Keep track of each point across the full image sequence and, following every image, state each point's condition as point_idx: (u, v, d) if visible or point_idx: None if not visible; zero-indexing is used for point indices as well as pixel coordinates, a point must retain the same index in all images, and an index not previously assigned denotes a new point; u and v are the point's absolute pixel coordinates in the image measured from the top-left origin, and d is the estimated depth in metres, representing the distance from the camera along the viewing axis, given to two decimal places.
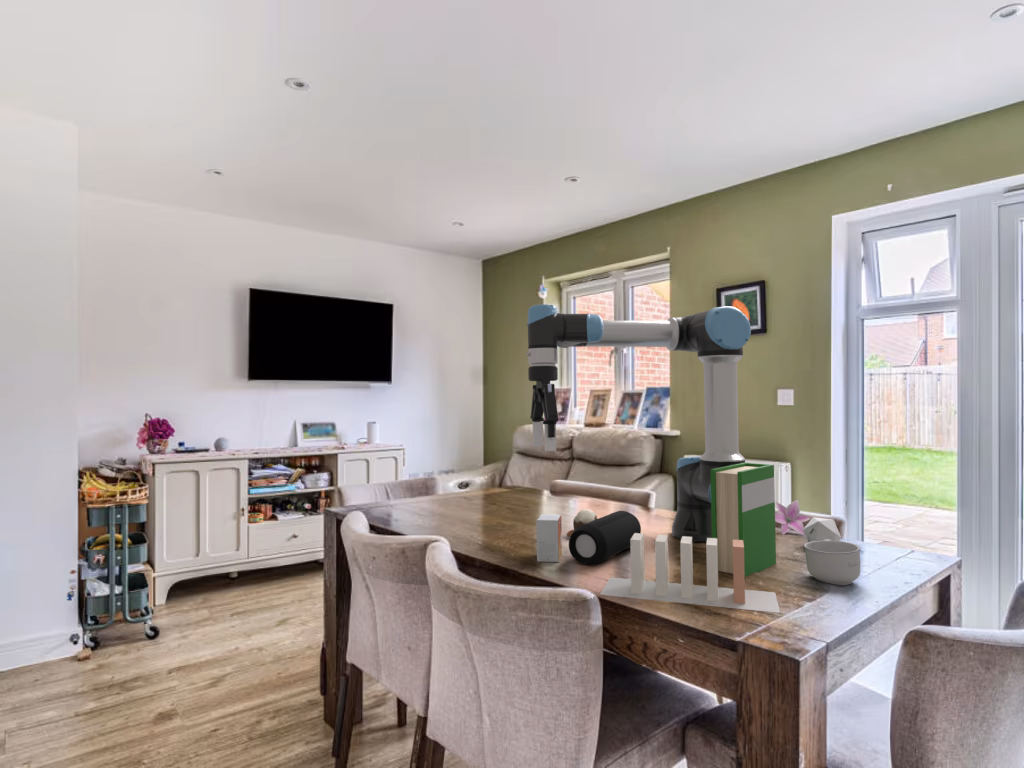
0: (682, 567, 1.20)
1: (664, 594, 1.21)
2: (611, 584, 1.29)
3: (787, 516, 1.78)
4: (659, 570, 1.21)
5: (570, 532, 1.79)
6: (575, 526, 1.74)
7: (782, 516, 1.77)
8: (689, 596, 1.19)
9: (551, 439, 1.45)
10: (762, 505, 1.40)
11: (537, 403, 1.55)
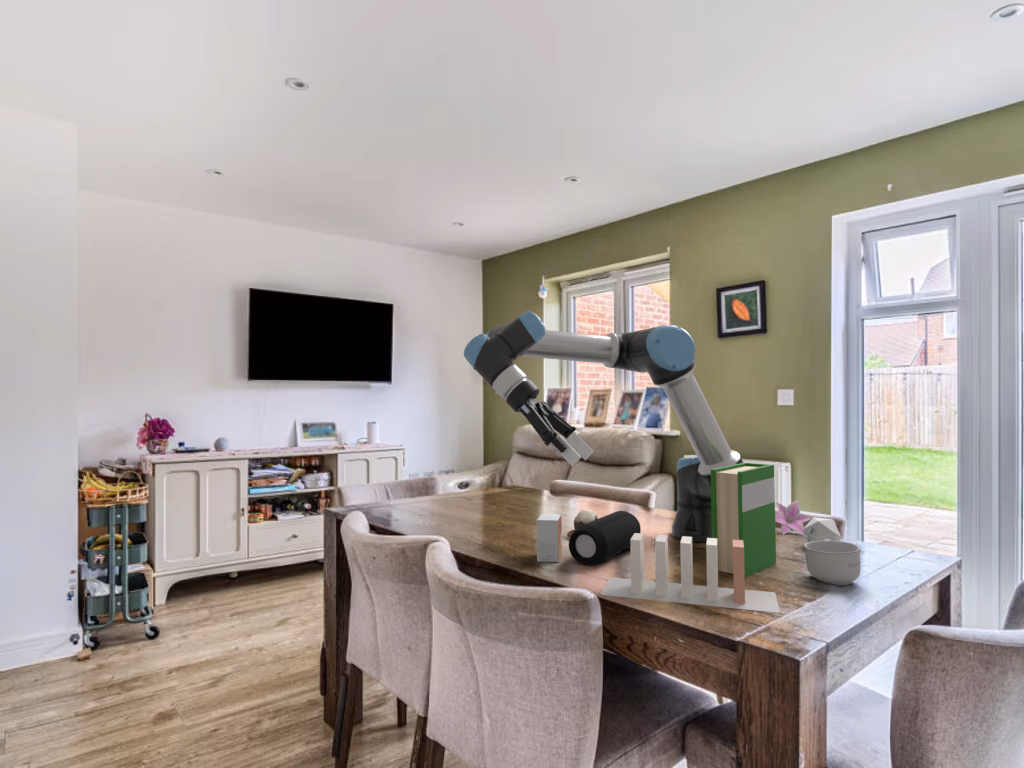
0: (682, 567, 1.20)
1: (664, 594, 1.21)
2: (611, 584, 1.29)
3: (787, 516, 1.78)
4: (659, 570, 1.21)
5: (571, 532, 1.79)
6: (576, 526, 1.74)
7: (782, 516, 1.77)
8: (689, 596, 1.19)
9: (567, 451, 1.25)
10: (762, 505, 1.40)
11: None
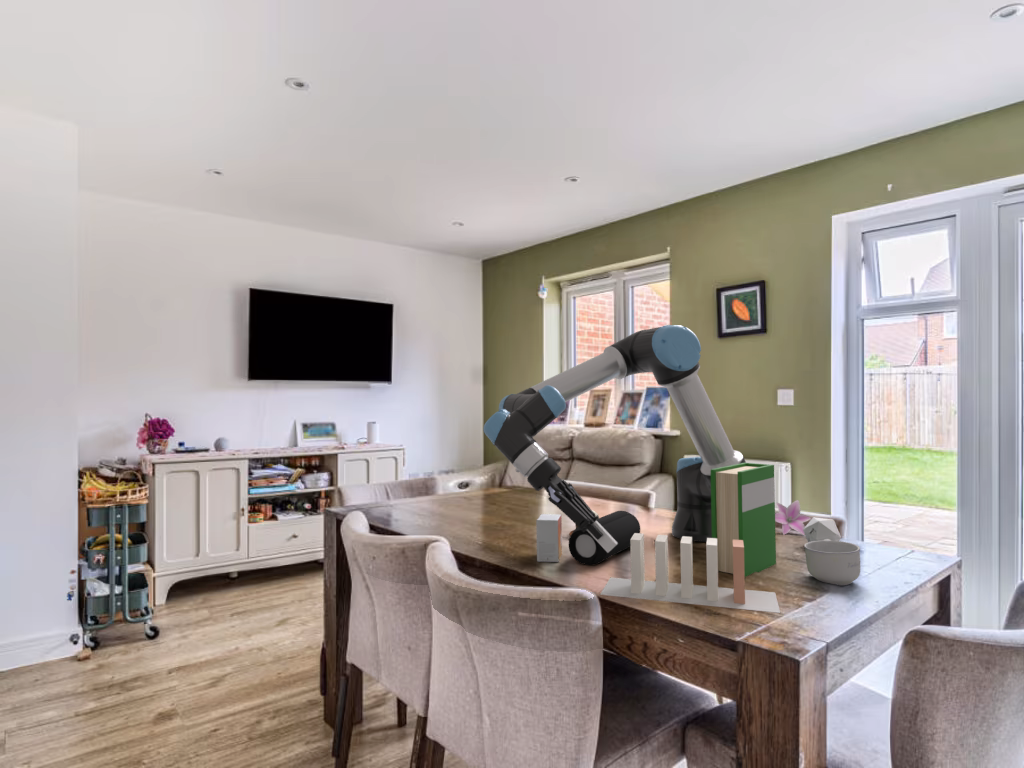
0: (682, 567, 1.20)
1: (664, 594, 1.21)
2: (611, 584, 1.29)
3: (787, 516, 1.78)
4: (659, 570, 1.21)
5: (572, 532, 1.79)
6: (577, 526, 1.74)
7: (783, 516, 1.77)
8: (689, 596, 1.19)
9: (603, 538, 1.27)
10: (762, 505, 1.40)
11: None
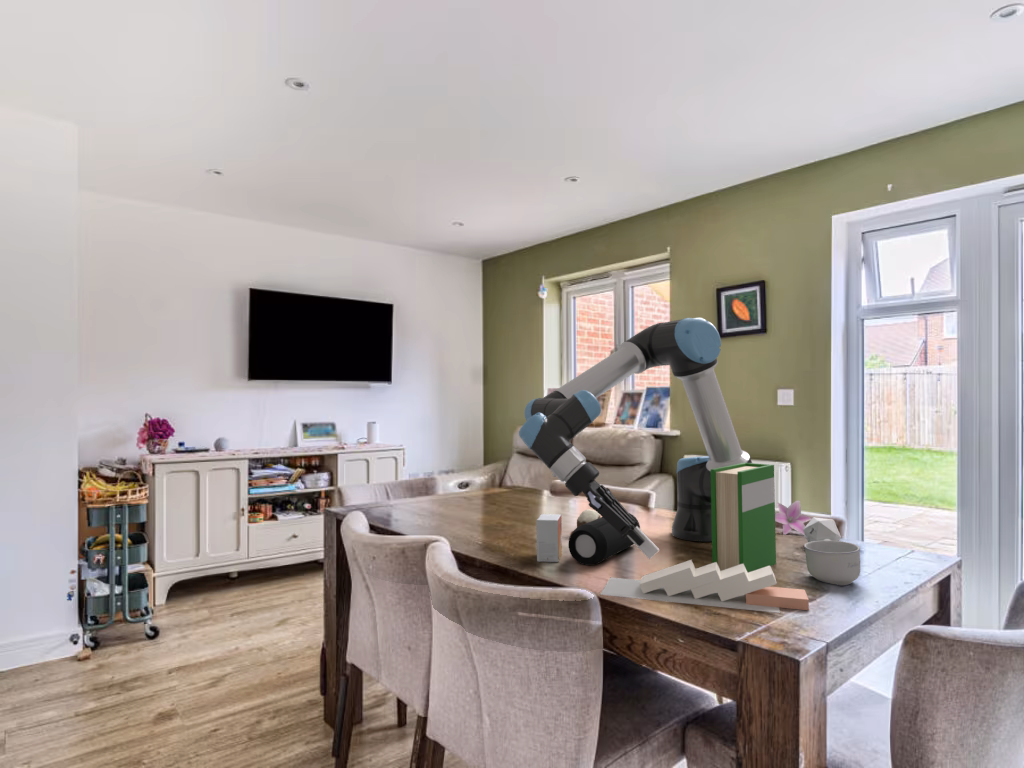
0: (720, 581, 1.17)
1: (668, 594, 1.21)
2: (611, 584, 1.29)
3: (788, 516, 1.78)
4: (689, 583, 1.19)
5: None
6: None
7: (783, 516, 1.77)
8: (696, 596, 1.19)
9: (644, 544, 1.25)
10: (762, 505, 1.40)
11: None
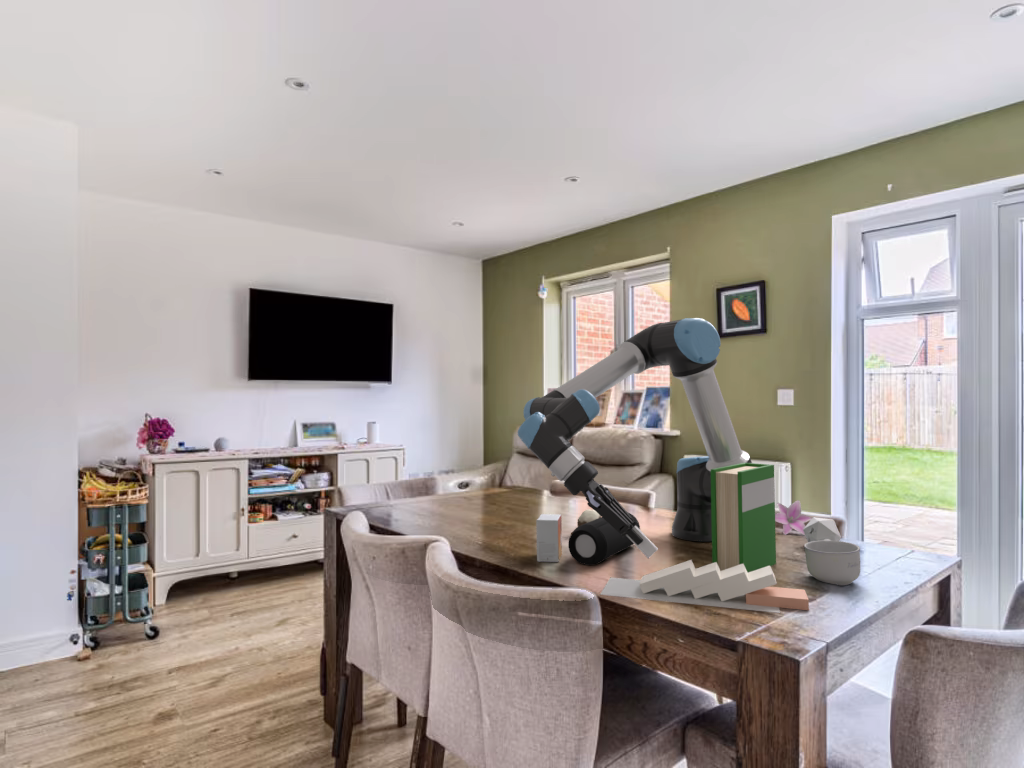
0: (720, 581, 1.17)
1: (668, 594, 1.21)
2: (611, 584, 1.29)
3: (788, 516, 1.77)
4: (689, 583, 1.19)
5: None
6: None
7: (784, 516, 1.77)
8: (696, 596, 1.19)
9: (643, 543, 1.25)
10: (762, 505, 1.40)
11: None
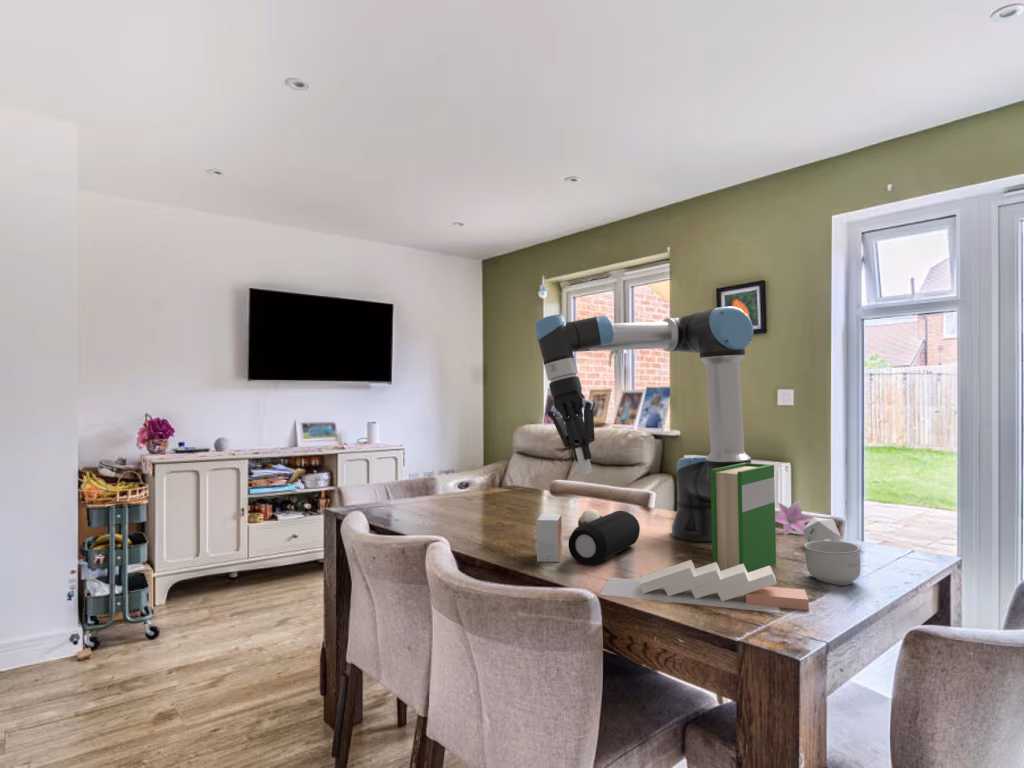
0: (720, 581, 1.17)
1: (668, 594, 1.21)
2: (611, 584, 1.29)
3: (789, 516, 1.77)
4: (689, 583, 1.19)
5: None
6: None
7: (784, 516, 1.77)
8: (696, 596, 1.19)
9: (587, 461, 1.43)
10: (762, 505, 1.40)
11: (569, 420, 1.44)
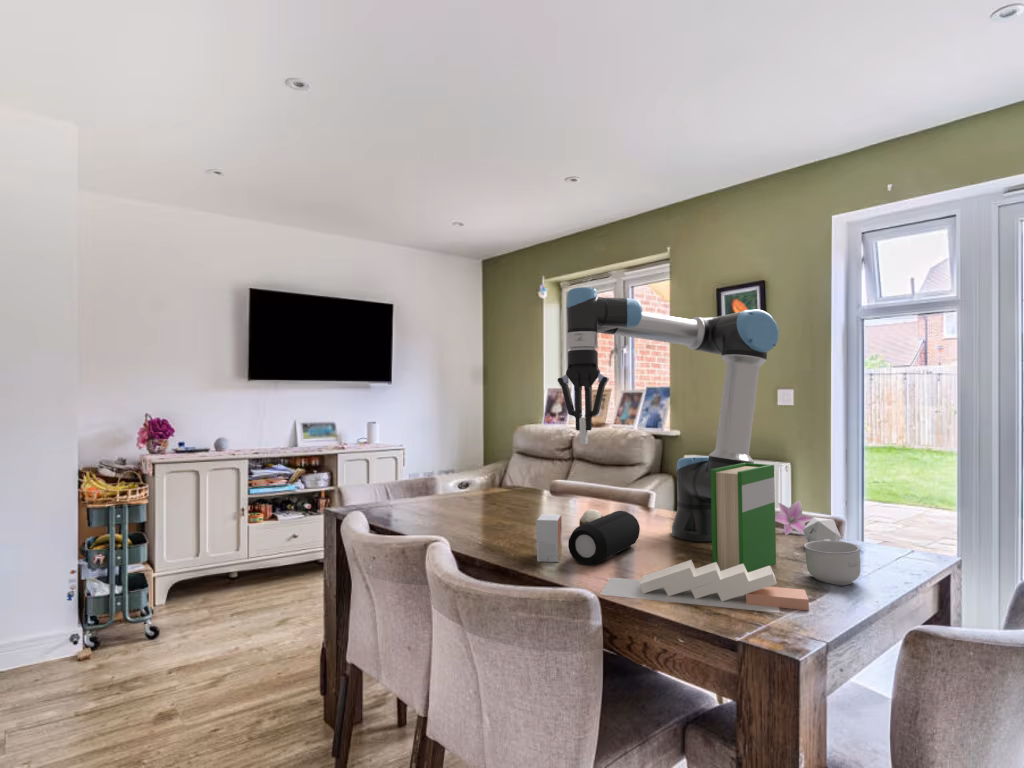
0: (720, 581, 1.17)
1: (668, 594, 1.21)
2: (611, 584, 1.29)
3: (789, 516, 1.77)
4: (689, 583, 1.19)
5: None
6: None
7: (785, 517, 1.77)
8: (696, 596, 1.19)
9: (586, 432, 1.49)
10: (762, 505, 1.40)
11: (579, 390, 1.49)
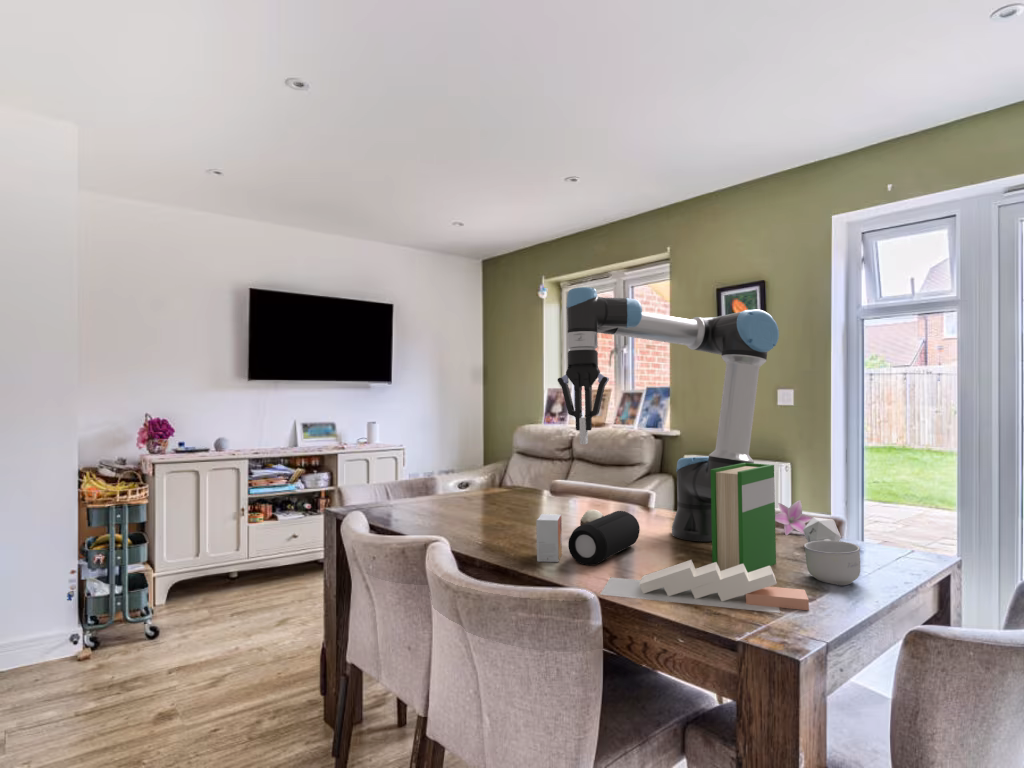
0: (720, 581, 1.17)
1: (668, 594, 1.21)
2: (611, 584, 1.29)
3: (789, 516, 1.77)
4: (689, 583, 1.19)
5: None
6: None
7: (785, 517, 1.76)
8: (696, 596, 1.19)
9: (586, 432, 1.49)
10: (762, 505, 1.40)
11: (579, 390, 1.49)
